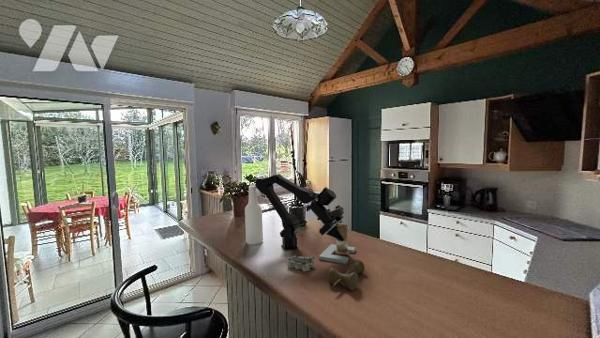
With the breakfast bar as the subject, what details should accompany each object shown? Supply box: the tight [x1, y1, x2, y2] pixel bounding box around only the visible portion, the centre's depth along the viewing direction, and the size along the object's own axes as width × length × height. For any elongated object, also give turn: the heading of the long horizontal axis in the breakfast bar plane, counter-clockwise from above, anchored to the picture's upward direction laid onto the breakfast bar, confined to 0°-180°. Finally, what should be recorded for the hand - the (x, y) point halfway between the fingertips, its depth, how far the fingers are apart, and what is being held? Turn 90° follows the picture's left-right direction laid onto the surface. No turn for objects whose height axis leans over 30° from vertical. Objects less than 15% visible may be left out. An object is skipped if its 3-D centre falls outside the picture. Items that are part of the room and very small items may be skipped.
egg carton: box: [286, 254, 316, 272], centre depth 111 cm, size 11×8×4 cm
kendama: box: [327, 259, 366, 292], centre depth 97 cm, size 6×10×20 cm
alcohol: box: [244, 185, 264, 246], centre depth 141 cm, size 9×9×30 cm
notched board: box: [318, 243, 356, 265], centre depth 122 cm, size 12×16×2 cm
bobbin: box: [334, 222, 350, 256], centre depth 121 cm, size 6×6×13 cm
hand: (344, 238), depth 120 cm, fingers closed on bobbin, 5 cm apart
